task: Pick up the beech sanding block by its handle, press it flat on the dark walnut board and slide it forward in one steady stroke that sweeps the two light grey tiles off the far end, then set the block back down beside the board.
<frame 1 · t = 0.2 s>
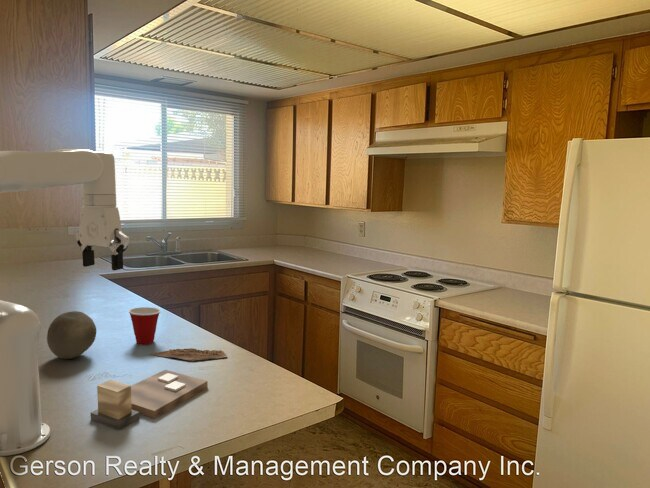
hand: (103, 267, 125), 36 cm above the table, tool pointing down, fingers open, 9 cm apart
board: (160, 395, 133), on the table
plastic cup: (145, 342, 173), on the table
wooden fragment: (189, 356, 161), on the table
sanding block: (115, 419, 119), on the table
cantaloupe: (73, 357, 157), on the table
tile a: (175, 387, 133), point 2 cm above the table, touching board
tile b: (168, 378, 138), point 2 cm above the table, touching board
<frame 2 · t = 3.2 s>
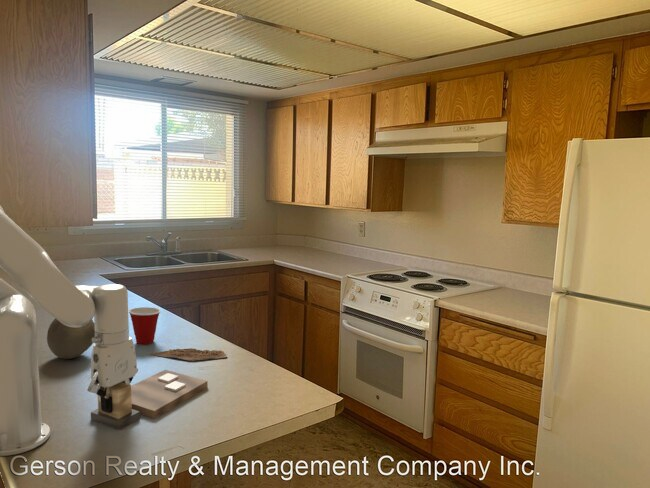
hand: (115, 406, 119), 3 cm above the table, tool pointing down, fingers closed on sanding block, 4 cm apart
sanding block: (115, 419, 119), on the table, touching gripper
everything else where it was.
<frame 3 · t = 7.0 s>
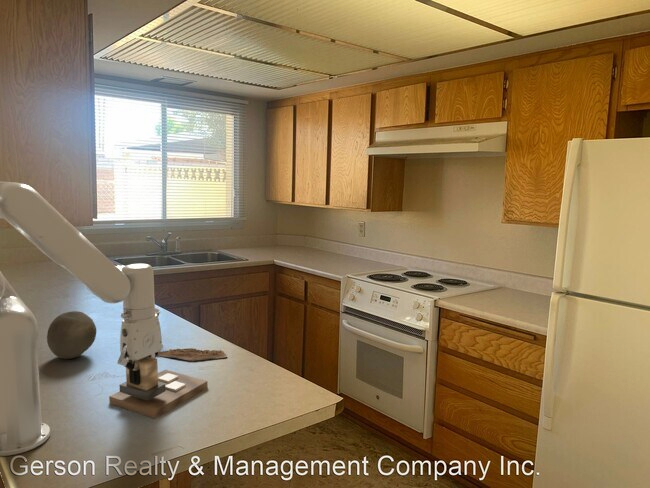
hand: (142, 379, 126), 7 cm above the table, tool pointing down, fingers closed on sanding block, 4 cm apart
sanding block: (142, 391, 126), point 4 cm above the table, touching gripper
everything else where it was.
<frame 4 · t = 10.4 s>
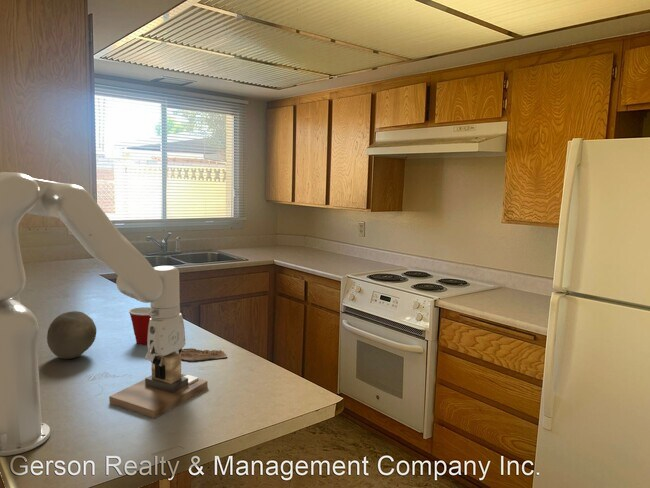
hand: (166, 374, 134), 5 cm above the table, tool pointing down, fingers closed on sanding block, 4 cm apart
sanding block: (166, 385, 134), point 2 cm above the table, touching gripper
tile a: (188, 380, 137), point 2 cm above the table, touching board
tile b: (172, 376, 140), point 2 cm above the table
everything else where it was.
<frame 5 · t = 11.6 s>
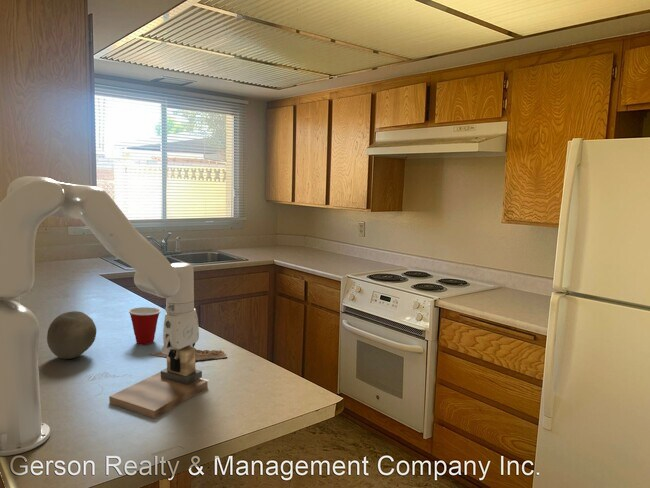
hand: (181, 367, 139), 5 cm above the table, tool pointing down, fingers closed on sanding block, 4 cm apart
sanding block: (181, 377, 140), point 2 cm above the table, touching board, gripper
tile a: (199, 383, 142), on the table
tile b: (183, 378, 145), on the table
everything else where it was.
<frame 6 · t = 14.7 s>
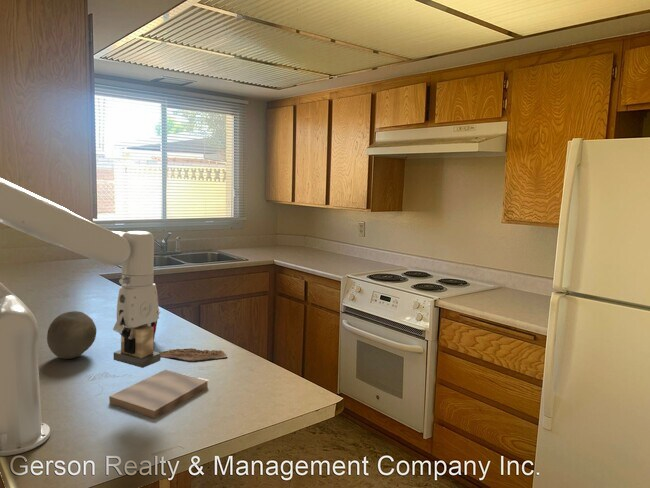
hand: (136, 349, 124), 16 cm above the table, tool pointing down, fingers closed on sanding block, 4 cm apart
sanding block: (137, 360, 124), point 13 cm above the table, touching gripper
everything else where it was.
when the fingers open (5 cm above the table, at t = 17.8 s): sanding block drops 2 cm, on the table.
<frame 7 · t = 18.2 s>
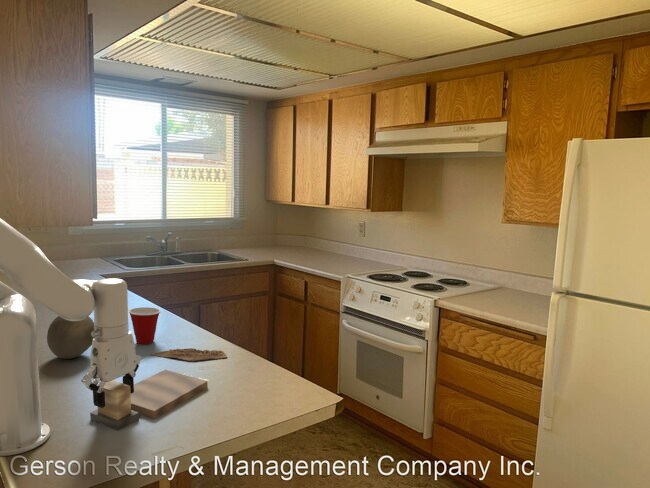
hand: (114, 398, 118), 5 cm above the table, tool pointing down, fingers open, 8 cm apart
sanding block: (114, 420, 119), on the table
everything else where it was.
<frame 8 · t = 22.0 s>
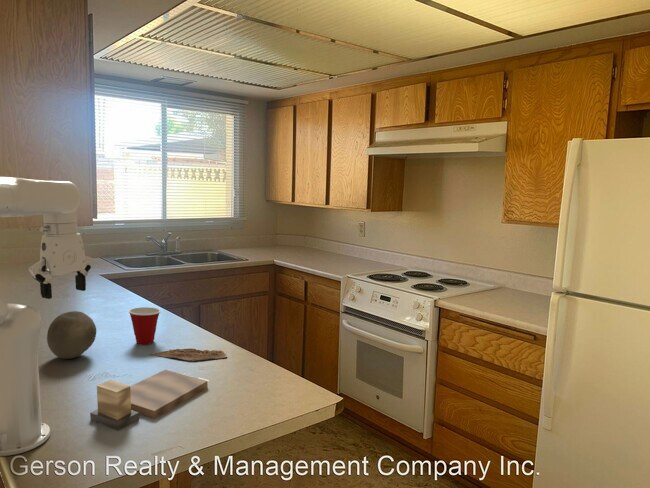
hand: (64, 293, 127), 28 cm above the table, tool pointing down, fingers open, 9 cm apart
nothing on the table moved.
at the end: tile a inside the target area (5.5 cm from its centre), on the table; tile b inside the target area (5.3 cm from its centre), on the table; the gripper is holding nothing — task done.
